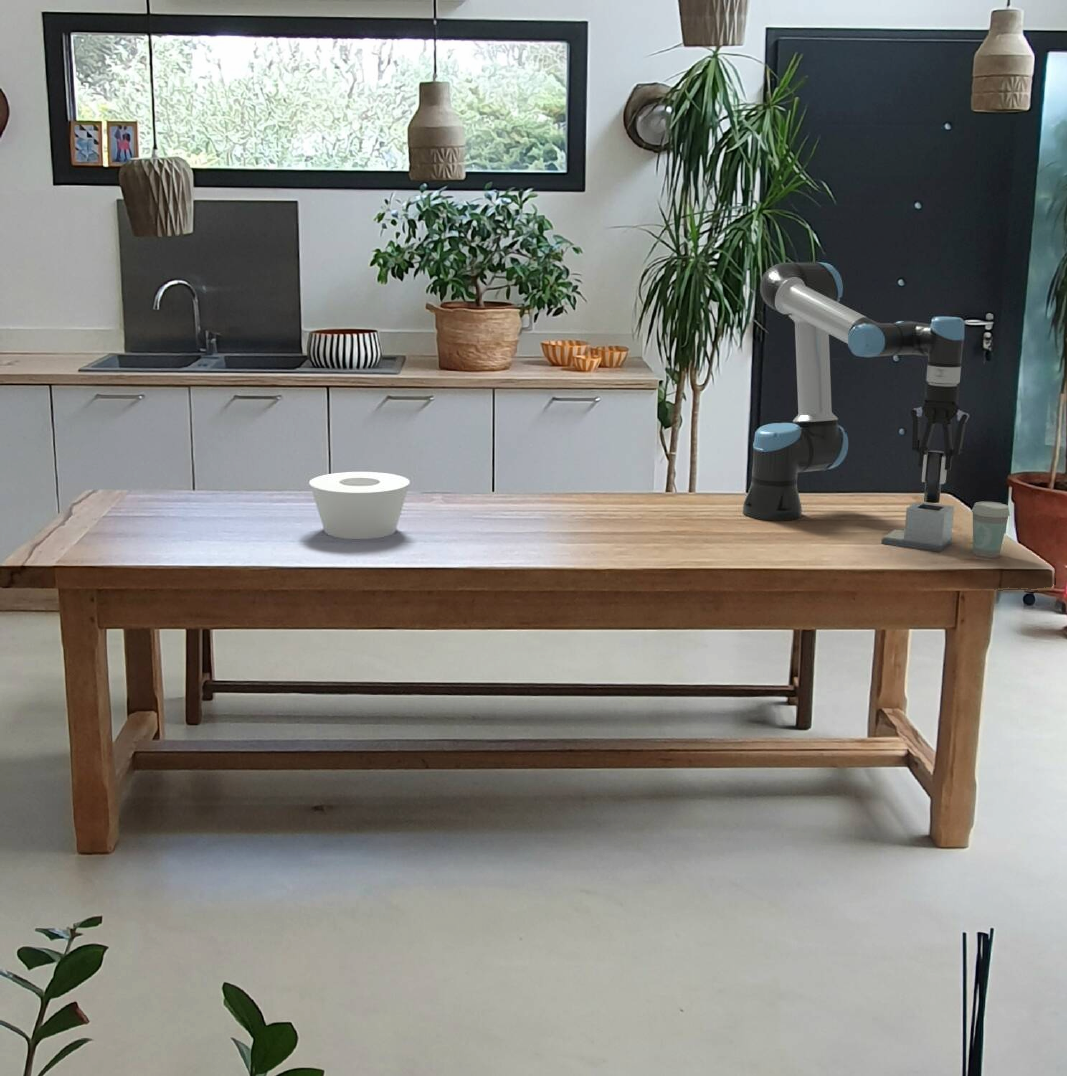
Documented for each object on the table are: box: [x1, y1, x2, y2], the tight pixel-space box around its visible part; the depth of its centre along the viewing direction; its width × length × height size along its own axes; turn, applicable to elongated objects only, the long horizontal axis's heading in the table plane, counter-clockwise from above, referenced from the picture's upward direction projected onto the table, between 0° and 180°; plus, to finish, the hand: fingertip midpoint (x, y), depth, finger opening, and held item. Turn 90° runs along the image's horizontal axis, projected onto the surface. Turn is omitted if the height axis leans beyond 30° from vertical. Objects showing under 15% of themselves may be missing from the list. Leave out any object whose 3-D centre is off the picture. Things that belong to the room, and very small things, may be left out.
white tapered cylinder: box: [308, 471, 411, 540], centre depth 325 cm, size 24×24×12 cm
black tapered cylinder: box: [923, 450, 945, 504], centre depth 320 cm, size 4×4×12 cm
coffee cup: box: [970, 501, 1011, 559], centre depth 315 cm, size 8×9×12 cm
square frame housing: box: [881, 501, 955, 553], centre depth 325 cm, size 14×11×9 cm
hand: (933, 481), depth 321 cm, fingers closed on black tapered cylinder, 3 cm apart
